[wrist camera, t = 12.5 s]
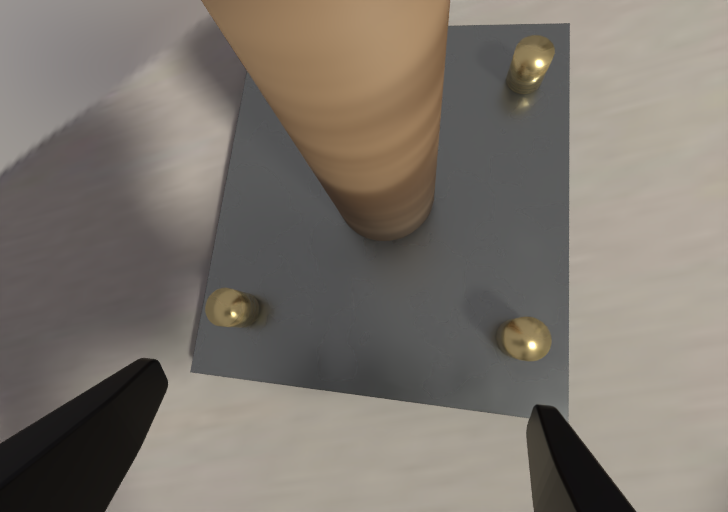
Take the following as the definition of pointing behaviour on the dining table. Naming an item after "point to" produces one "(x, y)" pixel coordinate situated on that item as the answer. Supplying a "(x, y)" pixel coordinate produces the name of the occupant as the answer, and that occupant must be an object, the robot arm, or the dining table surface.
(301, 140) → the walnut column
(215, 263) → the base plate
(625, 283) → the dining table surface
